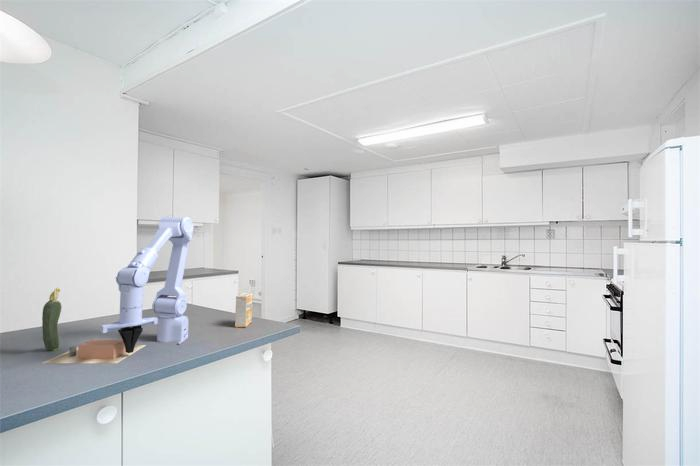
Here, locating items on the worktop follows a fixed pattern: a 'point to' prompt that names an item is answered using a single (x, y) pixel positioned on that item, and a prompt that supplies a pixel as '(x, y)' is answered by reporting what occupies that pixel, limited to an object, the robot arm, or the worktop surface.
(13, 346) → the worktop surface
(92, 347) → the pink channel block
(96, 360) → the board
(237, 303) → the supplement box
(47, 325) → the vegetable
